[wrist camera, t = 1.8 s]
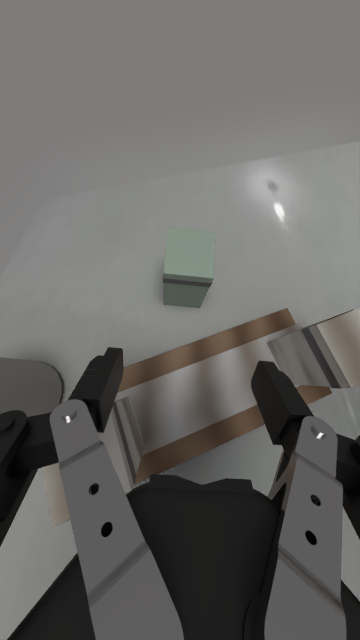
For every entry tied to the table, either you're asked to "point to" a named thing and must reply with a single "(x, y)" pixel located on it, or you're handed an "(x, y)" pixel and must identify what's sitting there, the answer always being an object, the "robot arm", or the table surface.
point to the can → (28, 387)
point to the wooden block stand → (214, 393)
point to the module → (188, 266)
